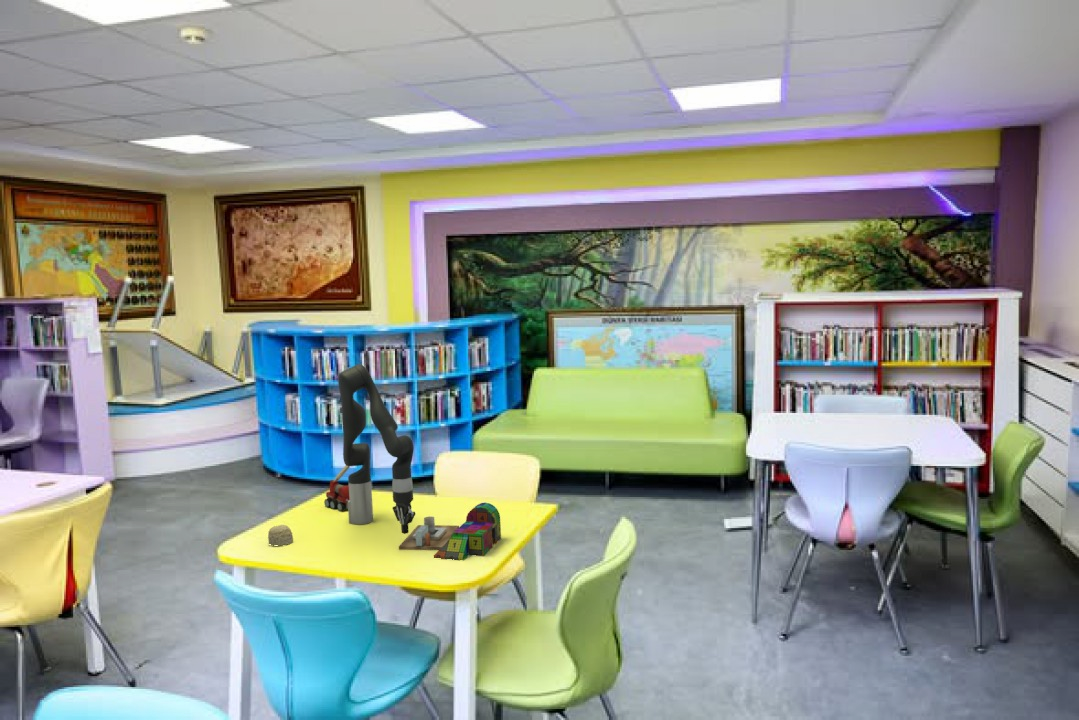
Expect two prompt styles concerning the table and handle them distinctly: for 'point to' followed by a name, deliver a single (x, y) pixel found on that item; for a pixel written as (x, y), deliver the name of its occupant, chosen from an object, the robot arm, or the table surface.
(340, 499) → the toy fire truck
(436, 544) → the flange base
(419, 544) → the flange plate
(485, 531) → the toy block train
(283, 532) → the brown rock
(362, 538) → the table surface
